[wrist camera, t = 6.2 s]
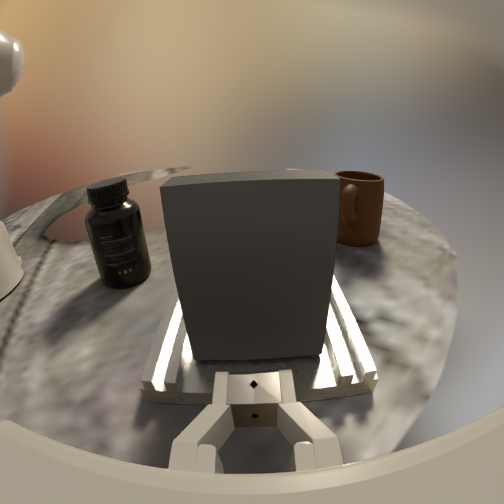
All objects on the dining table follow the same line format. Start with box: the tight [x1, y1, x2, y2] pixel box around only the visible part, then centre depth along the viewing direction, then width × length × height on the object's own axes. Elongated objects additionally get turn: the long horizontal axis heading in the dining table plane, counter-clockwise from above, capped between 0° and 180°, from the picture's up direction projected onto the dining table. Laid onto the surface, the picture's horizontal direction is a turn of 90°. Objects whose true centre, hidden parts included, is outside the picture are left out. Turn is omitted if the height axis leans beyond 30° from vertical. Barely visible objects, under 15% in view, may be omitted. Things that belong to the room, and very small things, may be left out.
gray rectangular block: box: [160, 170, 340, 360], centre depth 19 cm, size 9×6×12 cm
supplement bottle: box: [85, 177, 151, 289], centre depth 31 cm, size 7×7×12 cm
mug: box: [334, 171, 384, 246], centre depth 37 cm, size 12×8×9 cm, turn 150°
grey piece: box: [140, 275, 378, 405], centre depth 24 cm, size 16×20×8 cm
